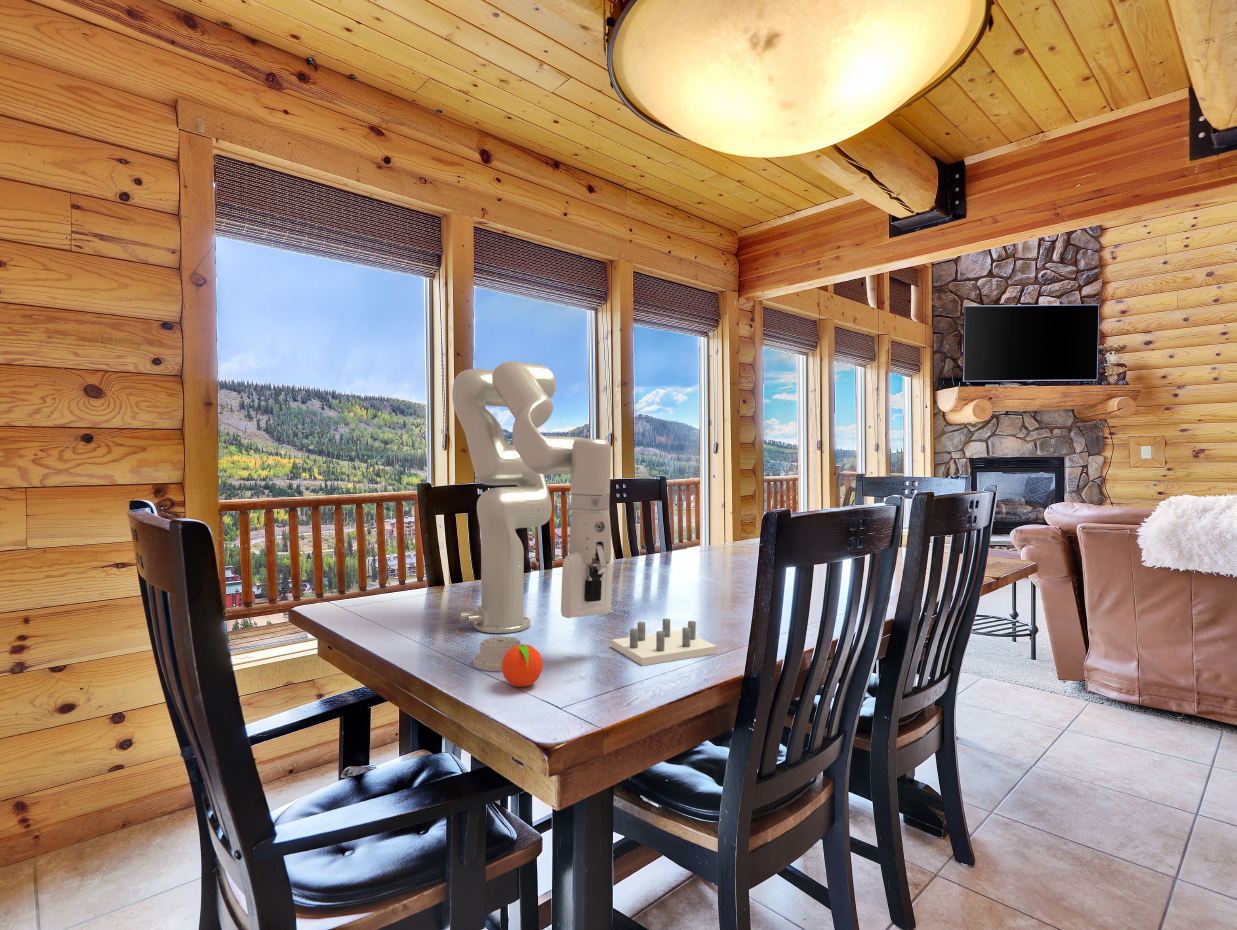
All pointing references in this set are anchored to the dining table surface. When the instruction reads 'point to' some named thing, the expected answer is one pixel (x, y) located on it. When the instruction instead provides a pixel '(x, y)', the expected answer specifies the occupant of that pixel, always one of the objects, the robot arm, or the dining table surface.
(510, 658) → the clementine
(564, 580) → the photo printer
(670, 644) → the pin tray
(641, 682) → the dining table surface
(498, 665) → the mechanical component
